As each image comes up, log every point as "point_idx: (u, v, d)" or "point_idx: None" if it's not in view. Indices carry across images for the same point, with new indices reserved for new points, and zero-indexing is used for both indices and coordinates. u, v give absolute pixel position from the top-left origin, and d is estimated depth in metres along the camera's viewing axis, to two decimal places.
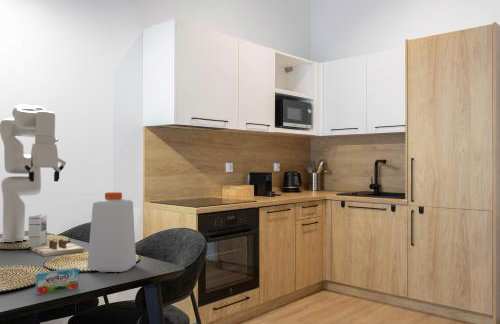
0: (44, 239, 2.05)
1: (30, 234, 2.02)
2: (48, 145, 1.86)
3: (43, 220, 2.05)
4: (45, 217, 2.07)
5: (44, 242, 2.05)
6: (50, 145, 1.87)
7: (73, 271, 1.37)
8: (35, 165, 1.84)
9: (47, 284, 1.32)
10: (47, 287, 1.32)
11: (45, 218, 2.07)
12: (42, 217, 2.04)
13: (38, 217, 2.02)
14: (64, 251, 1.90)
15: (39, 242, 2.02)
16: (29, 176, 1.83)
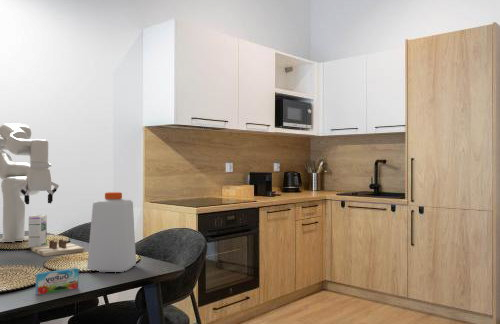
0: (44, 239, 2.05)
1: (30, 234, 2.02)
2: (42, 170, 2.04)
3: (43, 220, 2.05)
4: (45, 217, 2.07)
5: (44, 242, 2.05)
6: (44, 170, 2.04)
7: (73, 271, 1.37)
8: (30, 189, 2.01)
9: (47, 284, 1.32)
10: (47, 287, 1.32)
11: (45, 218, 2.07)
12: (42, 217, 2.04)
13: (38, 217, 2.02)
14: (64, 251, 1.90)
15: (39, 242, 2.02)
16: (25, 199, 2.01)
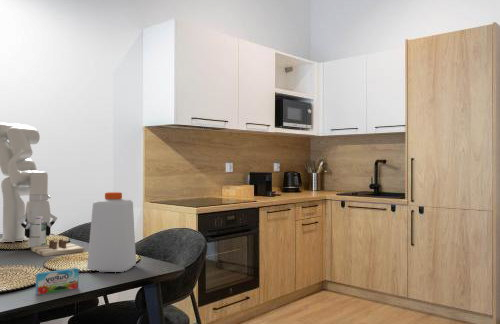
0: (44, 239, 2.05)
1: (30, 234, 2.02)
2: (41, 203, 2.04)
3: None
4: None
5: (44, 242, 2.05)
6: (43, 202, 2.04)
7: (73, 271, 1.37)
8: (29, 222, 2.01)
9: (47, 284, 1.32)
10: (47, 287, 1.32)
11: None
12: (42, 217, 2.04)
13: (38, 217, 2.02)
14: (64, 251, 1.90)
15: (39, 242, 2.02)
16: (25, 233, 2.01)
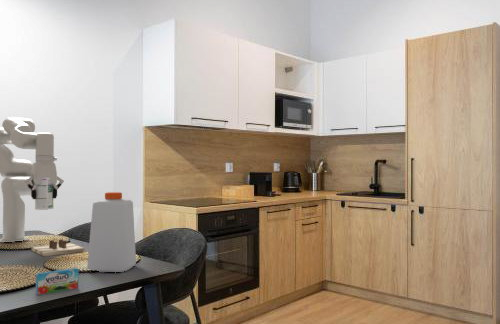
0: (50, 201, 2.03)
1: (37, 195, 2.00)
2: (47, 164, 2.01)
3: None
4: None
5: (51, 204, 2.03)
6: (49, 164, 2.02)
7: (73, 271, 1.37)
8: (36, 183, 1.98)
9: (47, 284, 1.32)
10: (47, 287, 1.32)
11: None
12: None
13: (45, 178, 2.00)
14: (64, 251, 1.90)
15: (46, 204, 2.00)
16: (32, 194, 1.99)
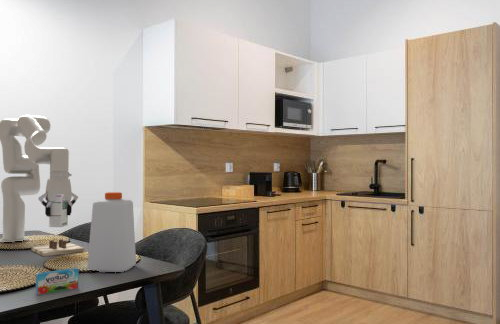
0: (65, 219, 1.97)
1: (51, 213, 1.94)
2: (62, 180, 1.95)
3: (64, 198, 1.96)
4: None
5: (65, 221, 1.97)
6: (64, 180, 1.96)
7: (73, 271, 1.37)
8: (50, 200, 1.92)
9: (47, 284, 1.32)
10: (47, 287, 1.32)
11: None
12: (63, 195, 1.96)
13: (59, 195, 1.94)
14: (64, 251, 1.90)
15: (60, 221, 1.94)
16: (46, 211, 1.93)
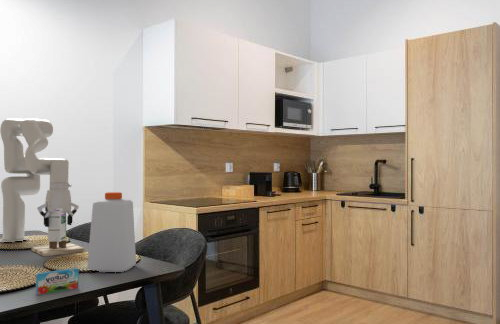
0: (63, 233, 1.97)
1: (50, 227, 1.94)
2: (62, 191, 1.95)
3: (63, 213, 1.96)
4: None
5: (64, 235, 1.97)
6: (64, 191, 1.96)
7: (73, 271, 1.37)
8: (50, 211, 1.92)
9: (47, 284, 1.32)
10: (47, 287, 1.32)
11: None
12: (62, 209, 1.95)
13: (58, 209, 1.94)
14: (64, 251, 1.90)
15: (59, 236, 1.94)
16: (44, 221, 1.92)
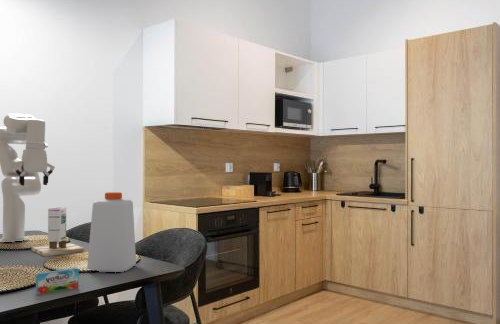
0: (63, 233, 1.97)
1: (50, 227, 1.94)
2: (38, 151, 1.98)
3: (63, 213, 1.96)
4: (65, 209, 1.98)
5: (64, 235, 1.97)
6: (40, 151, 1.99)
7: (73, 271, 1.37)
8: (26, 170, 1.96)
9: (47, 284, 1.32)
10: (47, 287, 1.32)
11: (65, 210, 1.98)
12: (62, 209, 1.95)
13: (58, 209, 1.94)
14: (64, 251, 1.90)
15: (59, 236, 1.94)
16: (20, 180, 1.96)
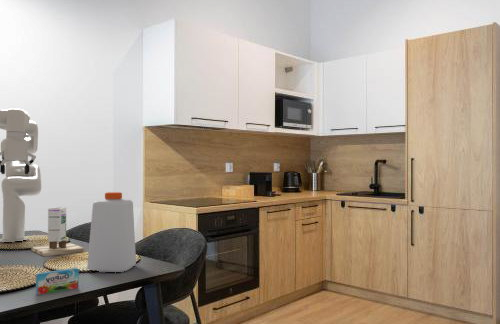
0: (63, 233, 1.97)
1: (50, 227, 1.94)
2: (18, 140, 2.01)
3: (63, 213, 1.96)
4: (65, 209, 1.98)
5: (64, 235, 1.97)
6: (20, 140, 2.02)
7: (73, 271, 1.37)
8: (6, 159, 1.98)
9: (47, 284, 1.32)
10: (47, 287, 1.32)
11: (65, 210, 1.98)
12: (62, 209, 1.95)
13: (58, 209, 1.94)
14: (64, 251, 1.90)
15: (59, 236, 1.94)
16: (0, 169, 1.98)
